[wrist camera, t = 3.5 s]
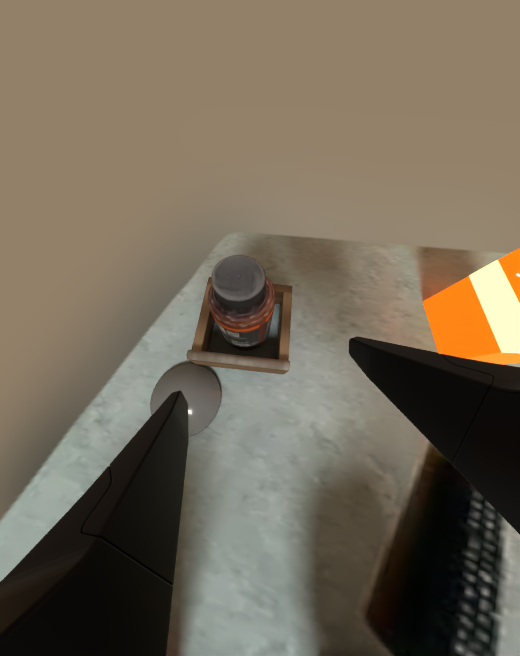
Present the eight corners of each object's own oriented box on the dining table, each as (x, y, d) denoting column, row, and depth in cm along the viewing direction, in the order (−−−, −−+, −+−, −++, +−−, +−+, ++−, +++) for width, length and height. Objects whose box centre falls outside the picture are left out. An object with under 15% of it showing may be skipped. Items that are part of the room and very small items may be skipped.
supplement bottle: (262, 304, 25) (269, 237, 14) (274, 345, 23) (291, 303, 13) (219, 313, 24) (192, 250, 14) (227, 356, 22) (203, 321, 12)
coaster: (214, 440, 19) (213, 441, 19) (142, 432, 19) (140, 433, 19) (226, 367, 22) (225, 367, 22) (163, 360, 22) (161, 360, 22)
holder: (283, 374, 22) (289, 369, 18) (197, 364, 22) (185, 358, 18) (287, 298, 26) (293, 281, 22) (213, 290, 26) (207, 272, 22)
